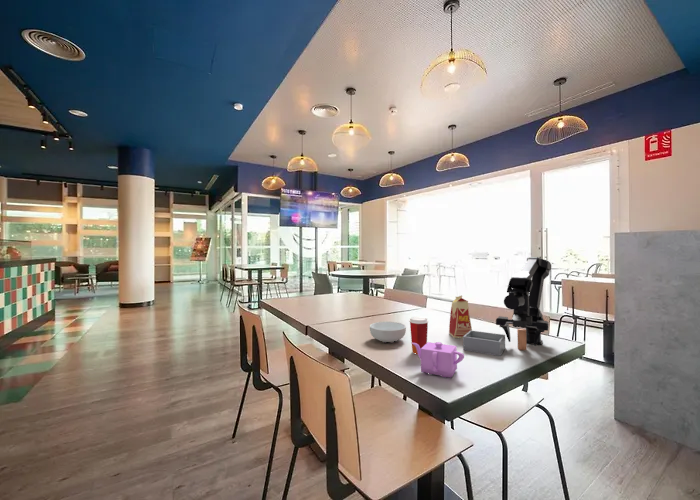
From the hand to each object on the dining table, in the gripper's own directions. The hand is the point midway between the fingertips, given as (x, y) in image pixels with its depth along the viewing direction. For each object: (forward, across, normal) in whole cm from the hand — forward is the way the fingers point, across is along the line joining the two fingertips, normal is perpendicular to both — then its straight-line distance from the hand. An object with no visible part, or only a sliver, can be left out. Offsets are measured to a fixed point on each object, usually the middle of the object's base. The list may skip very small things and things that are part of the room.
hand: (522, 343), depth 124 cm
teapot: (+2, -21, -42) cm, 47 cm away
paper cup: (+2, -34, -27) cm, 44 cm away
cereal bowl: (+2, -53, -19) cm, 56 cm away
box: (+2, -13, -8) cm, 15 cm away
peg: (+2, 0, 0) cm, 2 cm away
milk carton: (+2, -27, +7) cm, 28 cm away
